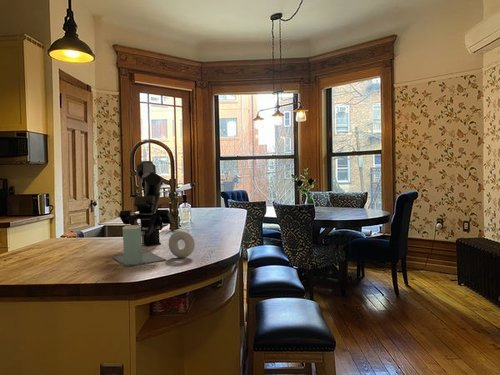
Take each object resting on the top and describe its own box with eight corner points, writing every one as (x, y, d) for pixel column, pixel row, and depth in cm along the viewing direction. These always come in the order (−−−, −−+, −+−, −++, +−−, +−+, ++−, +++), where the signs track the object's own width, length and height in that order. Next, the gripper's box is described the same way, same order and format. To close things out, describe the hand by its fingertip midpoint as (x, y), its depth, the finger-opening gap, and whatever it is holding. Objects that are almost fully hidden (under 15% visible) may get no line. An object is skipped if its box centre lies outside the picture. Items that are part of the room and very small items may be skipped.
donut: (196, 257, 133) (195, 229, 133) (192, 259, 130) (191, 231, 130) (171, 256, 136) (170, 229, 136) (167, 258, 133) (166, 230, 132)
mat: (148, 252, 144) (148, 251, 144) (165, 260, 130) (165, 259, 130) (112, 257, 137) (112, 256, 137) (126, 267, 122) (126, 266, 122)
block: (130, 261, 129) (128, 225, 128) (142, 261, 128) (140, 225, 128) (124, 264, 124) (122, 227, 124) (137, 264, 124) (135, 227, 123)
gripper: (119, 188, 138) (106, 222, 127) (168, 187, 136) (158, 221, 125) (130, 207, 146) (118, 240, 135) (175, 206, 144) (167, 240, 133)
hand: (139, 235), depth 132 cm, fingers open, 5 cm apart
